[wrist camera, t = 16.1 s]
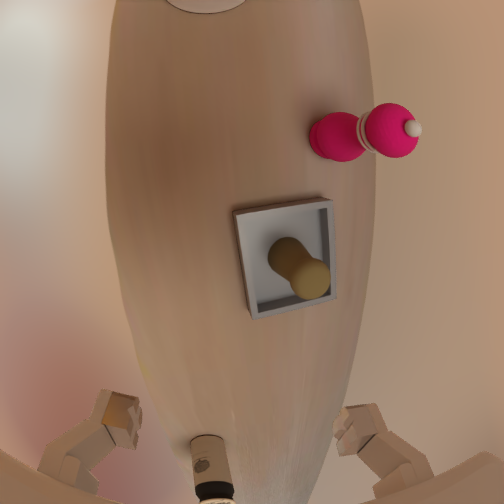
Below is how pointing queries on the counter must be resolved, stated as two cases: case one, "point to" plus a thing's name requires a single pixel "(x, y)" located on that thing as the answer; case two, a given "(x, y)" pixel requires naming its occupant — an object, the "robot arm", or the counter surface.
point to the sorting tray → (263, 237)
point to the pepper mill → (366, 133)
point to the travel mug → (211, 471)
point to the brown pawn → (299, 268)
